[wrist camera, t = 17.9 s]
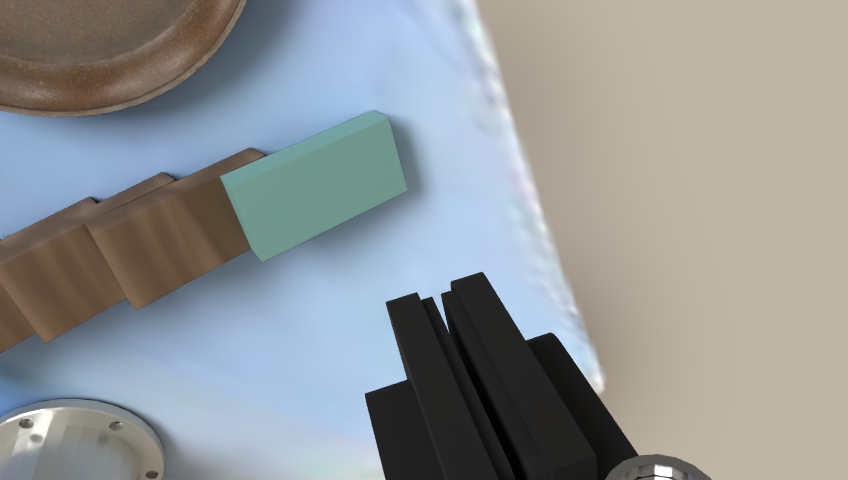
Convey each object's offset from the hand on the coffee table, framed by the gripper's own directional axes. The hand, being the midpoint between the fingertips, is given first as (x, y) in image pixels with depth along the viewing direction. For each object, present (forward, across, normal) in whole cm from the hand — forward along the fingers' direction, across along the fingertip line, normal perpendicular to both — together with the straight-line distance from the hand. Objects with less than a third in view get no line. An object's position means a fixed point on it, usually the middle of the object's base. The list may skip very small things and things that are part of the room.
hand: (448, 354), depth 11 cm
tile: (+29, -3, +9) cm, 31 cm away
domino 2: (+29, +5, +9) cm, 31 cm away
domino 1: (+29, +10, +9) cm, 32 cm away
